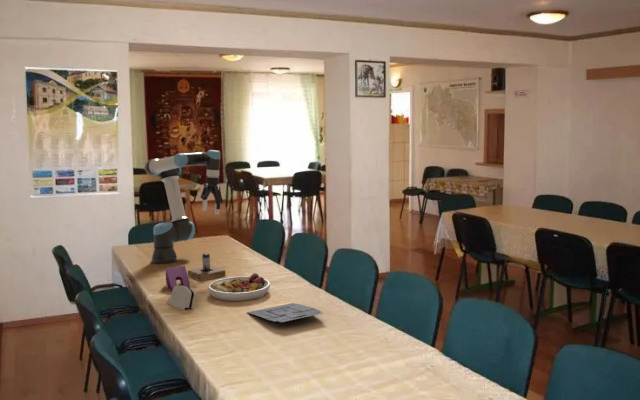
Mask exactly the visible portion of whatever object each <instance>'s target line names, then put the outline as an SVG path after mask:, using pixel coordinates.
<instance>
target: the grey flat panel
mask: <svg viewBox="0 0 640 400" xmlns="http://www.w3.org/2000/svg"><path fill="white" fill-rule="evenodd" d="M246 313H248V314H251V315H255V316H257V317H259V318H263V319H265V320H268V321H272V322H279V323H285V322H290V321H293V320H297V319H302V318H307V317H313V316H316V315H322V314H323V311H322V310H319V309H317V308H315V307H311V306H307V305H303V304H300V303H295V302H292V303H288V304H283V305H277V306H272V307H268V308H267V307H266V308H263V309H262V308H261V309H256V310H251V311H247V312H246Z"/></svg>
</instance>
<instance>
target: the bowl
mask: <svg viewBox="0 0 640 400" xmlns="http://www.w3.org/2000/svg"><path fill="white" fill-rule="evenodd" d="M270 286H271V285H270V281H269V280H267V279H265V278H264V277H262V276H260V275H259V274H258V273H255V272H254V273H252V274H251V275H250V276H230V277H224V278H222V279H217V280H214V281H212V282H211V283H209V285H208V291H209V293H210V295H211V296H212V297H213V298H215V299H218V300H222V301H226V302H245V301H246V302H247V301H251V300H255V299H258V298H260V297H263V296H265V295H266V294H267V293H268V292H269V290H270Z"/></svg>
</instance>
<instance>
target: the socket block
mask: <svg viewBox="0 0 640 400" xmlns="http://www.w3.org/2000/svg"><path fill="white" fill-rule="evenodd" d="M187 275H188V277H191V278H194V279H197V280H199V281H206V280H211V279H215V278H221V277H224V276H226V270H225V269H222V268H220V267H216V266H214V265H210V271H208V272H203V266H202V267H198V268H193V269H192V268H191V269H187Z"/></svg>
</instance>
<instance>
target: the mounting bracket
mask: <svg viewBox="0 0 640 400" xmlns="http://www.w3.org/2000/svg"><path fill="white" fill-rule="evenodd" d="M177 281H179V282H180V285H181V286H187V287H189V288H191V282H190V278H189V276H188V271H187V269H186V265H180V266H169V267H165V283H166V287H167V288H170V290H171V292H172V291H173V288H174V286H178V283H177Z"/></svg>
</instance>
